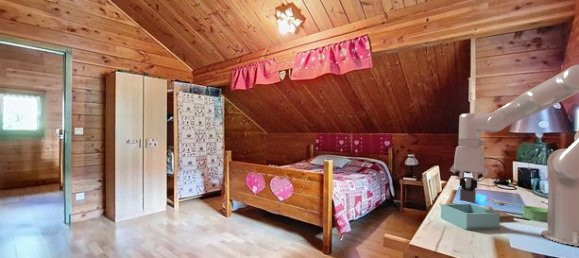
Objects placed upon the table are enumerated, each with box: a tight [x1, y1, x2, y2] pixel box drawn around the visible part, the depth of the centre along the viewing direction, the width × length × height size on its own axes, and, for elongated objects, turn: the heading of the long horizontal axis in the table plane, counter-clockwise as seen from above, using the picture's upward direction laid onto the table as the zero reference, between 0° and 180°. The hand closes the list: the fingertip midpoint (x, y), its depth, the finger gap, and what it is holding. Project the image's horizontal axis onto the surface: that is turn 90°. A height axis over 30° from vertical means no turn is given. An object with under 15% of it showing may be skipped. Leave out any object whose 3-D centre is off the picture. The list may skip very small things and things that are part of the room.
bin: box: [440, 203, 501, 231], centre depth 110 cm, size 14×14×6 cm
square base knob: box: [459, 176, 477, 203], centre depth 110 cm, size 5×5×9 cm
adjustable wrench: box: [487, 198, 548, 210], centre depth 136 cm, size 25×6×2 cm, turn 43°
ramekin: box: [522, 205, 548, 223], centre depth 117 cm, size 9×9×4 cm
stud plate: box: [484, 205, 515, 222], centre depth 119 cm, size 12×12×5 cm
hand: (468, 188), depth 110 cm, fingers closed on square base knob, 3 cm apart
